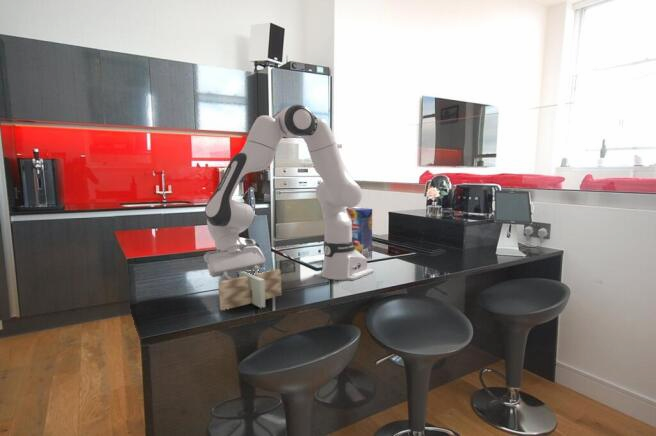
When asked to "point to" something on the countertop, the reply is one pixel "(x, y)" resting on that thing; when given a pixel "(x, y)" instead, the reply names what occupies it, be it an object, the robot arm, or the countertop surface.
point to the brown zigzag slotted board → (247, 289)
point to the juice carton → (362, 229)
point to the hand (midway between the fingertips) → (245, 281)
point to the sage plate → (255, 288)
